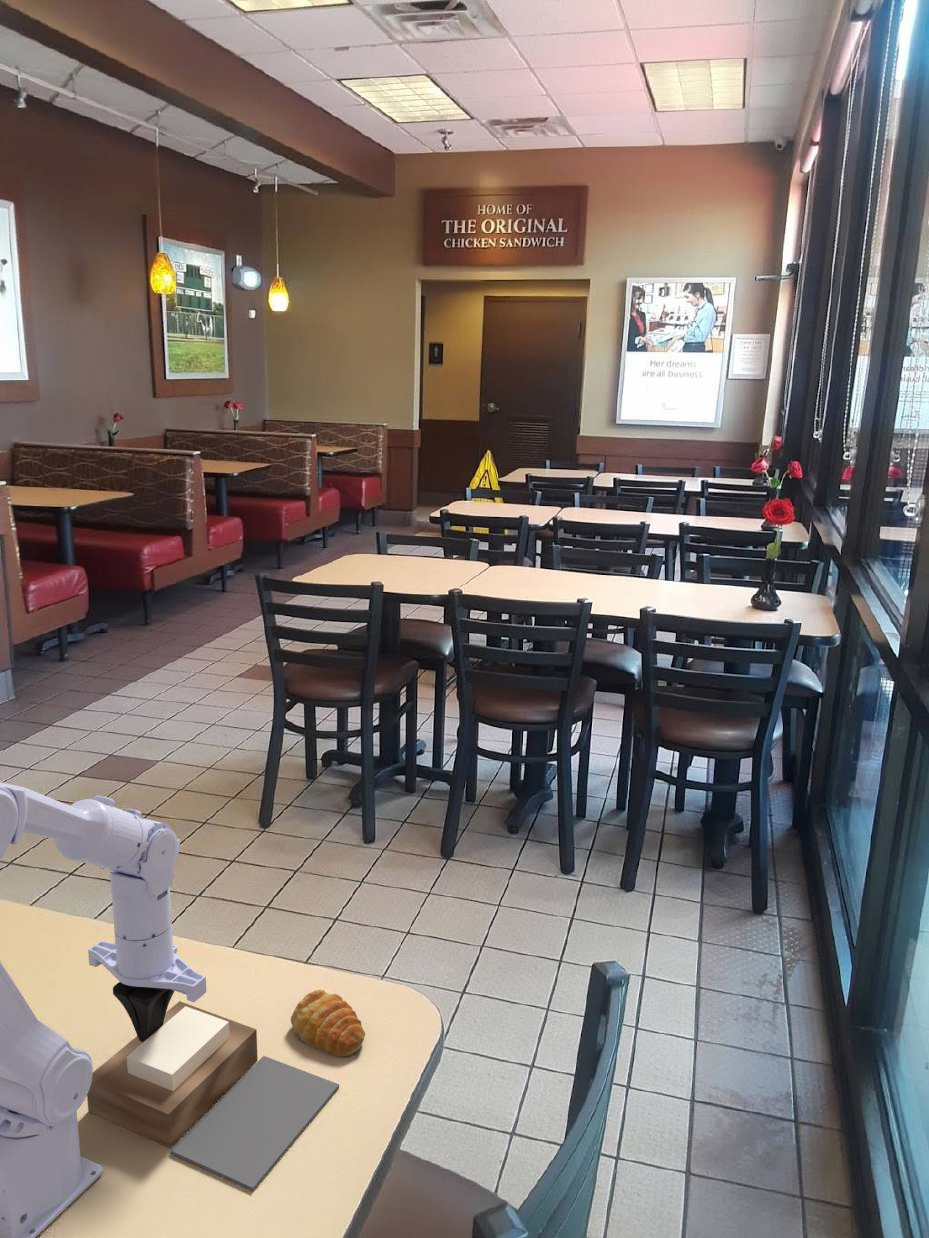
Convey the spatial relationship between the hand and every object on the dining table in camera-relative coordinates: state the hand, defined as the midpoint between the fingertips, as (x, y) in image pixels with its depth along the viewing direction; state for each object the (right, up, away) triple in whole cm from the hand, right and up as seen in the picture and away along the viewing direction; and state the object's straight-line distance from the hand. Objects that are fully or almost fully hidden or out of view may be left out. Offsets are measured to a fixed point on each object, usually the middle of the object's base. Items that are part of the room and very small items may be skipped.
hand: (150, 1037), depth 100 cm
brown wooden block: (+3, -5, 0) cm, 6 cm away
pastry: (+18, -4, +9) cm, 21 cm away
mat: (+13, -6, -5) cm, 15 cm away
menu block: (+4, -1, -1) cm, 4 cm away
